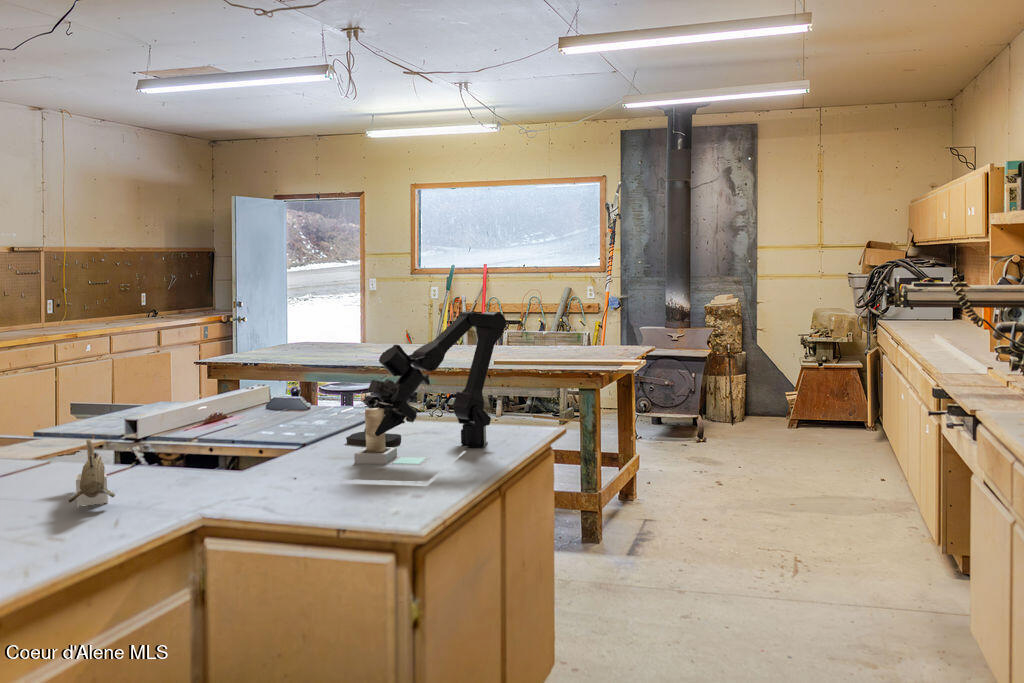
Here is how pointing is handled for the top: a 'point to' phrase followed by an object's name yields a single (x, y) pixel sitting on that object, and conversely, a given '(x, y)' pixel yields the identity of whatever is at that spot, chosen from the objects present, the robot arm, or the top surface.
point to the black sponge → (361, 439)
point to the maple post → (374, 430)
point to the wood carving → (92, 481)
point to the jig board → (387, 458)
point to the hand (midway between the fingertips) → (370, 433)
